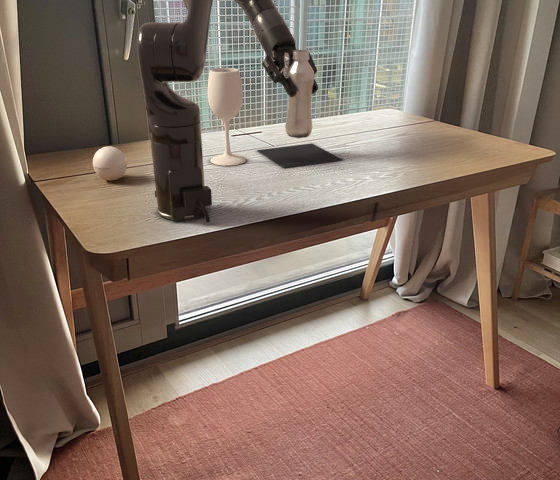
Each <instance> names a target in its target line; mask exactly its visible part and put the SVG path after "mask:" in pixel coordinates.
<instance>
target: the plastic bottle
mask: <svg viewBox="0 0 560 480" xmlns="http://www.w3.org/2000/svg"><path fill="white" fill-rule="evenodd" d="M309 53H310V50H308V49H297V50H293V59H294V62H293V64H292V65H291V66H290V68H289V71H288V74H289V78H288V79H290V80H291V81H292V83H293V85H294V87H295V88H296V90H297V93H296V94H295V96H294V97H290V96H289V95H288V105H287V106H288V108H287V114H286V115H287V117H286V120H285V133H286V134H287V136H288V137H290V138H295V139H304V138H308V137H310V135H311V134H312V132H313V120H312V96H313V94H312V89H313V83H314V79H315V76H316V74H315V75H314V71H313V69H312V67H311V65H310V64H309V62H308V60H309Z"/></svg>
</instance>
